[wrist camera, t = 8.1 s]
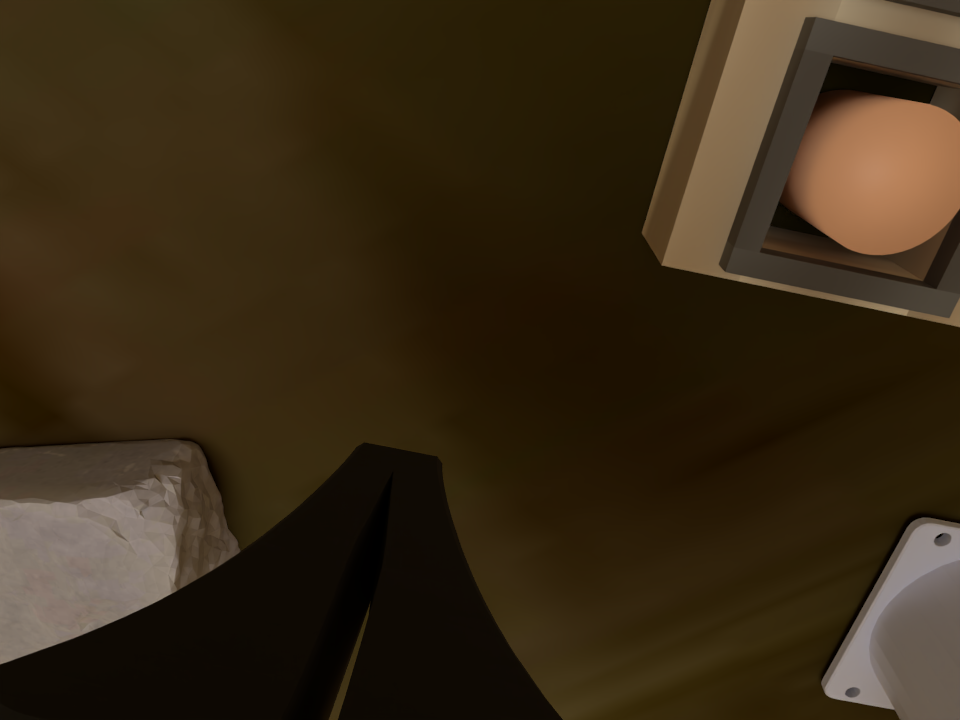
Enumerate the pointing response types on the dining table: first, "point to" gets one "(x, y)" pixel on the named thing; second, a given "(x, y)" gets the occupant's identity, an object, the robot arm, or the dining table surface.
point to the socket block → (776, 139)
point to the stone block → (101, 535)
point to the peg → (876, 171)
